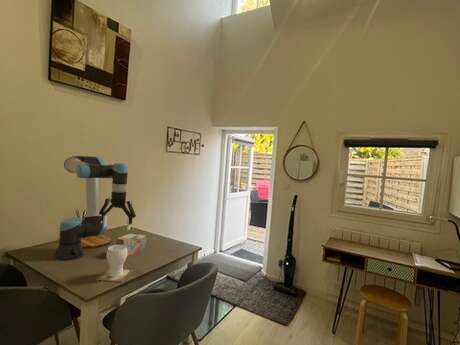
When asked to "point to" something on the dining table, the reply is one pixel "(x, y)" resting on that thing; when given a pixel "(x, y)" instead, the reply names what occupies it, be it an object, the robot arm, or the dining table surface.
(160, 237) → the dining table surface
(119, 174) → the robot arm
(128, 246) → the stack of blocks
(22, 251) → the dining table surface
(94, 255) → the dining table surface
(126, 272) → the picture frame
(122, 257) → the cup
